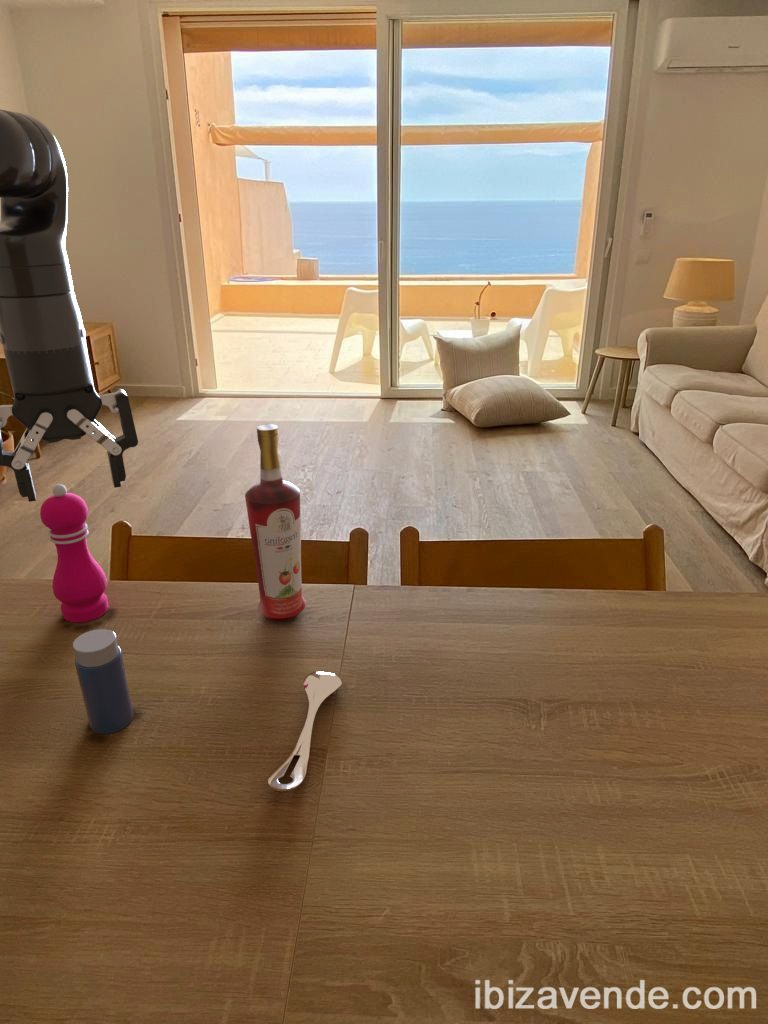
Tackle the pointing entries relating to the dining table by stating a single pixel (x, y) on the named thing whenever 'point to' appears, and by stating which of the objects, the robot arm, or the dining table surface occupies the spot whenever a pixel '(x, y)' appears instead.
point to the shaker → (103, 681)
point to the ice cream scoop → (306, 729)
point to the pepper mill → (74, 558)
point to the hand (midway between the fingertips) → (75, 491)
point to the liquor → (275, 533)
